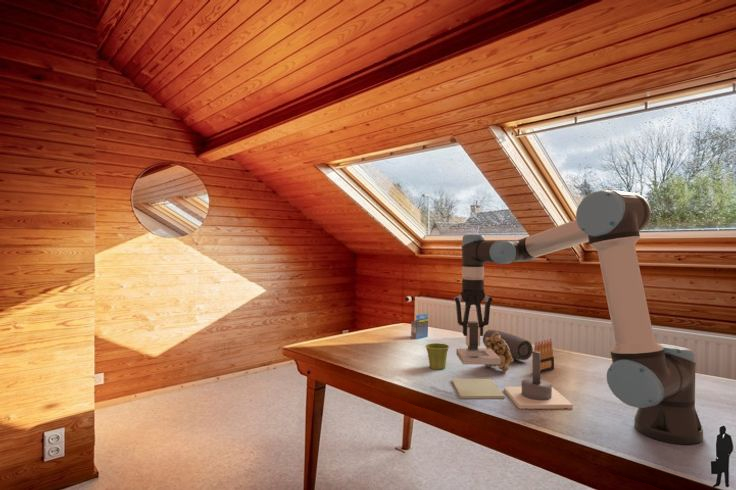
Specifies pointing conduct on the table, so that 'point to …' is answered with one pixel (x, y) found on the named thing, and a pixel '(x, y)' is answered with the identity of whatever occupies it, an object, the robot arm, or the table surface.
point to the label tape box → (419, 327)
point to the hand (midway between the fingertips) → (472, 344)
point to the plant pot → (437, 355)
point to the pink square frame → (476, 350)
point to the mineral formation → (499, 351)
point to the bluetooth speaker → (513, 344)
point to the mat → (477, 388)
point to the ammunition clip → (545, 355)
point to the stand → (537, 391)
